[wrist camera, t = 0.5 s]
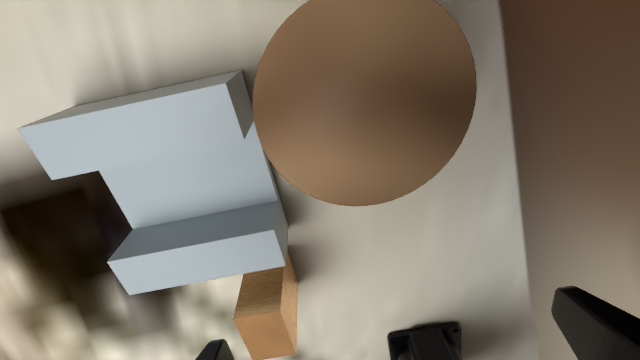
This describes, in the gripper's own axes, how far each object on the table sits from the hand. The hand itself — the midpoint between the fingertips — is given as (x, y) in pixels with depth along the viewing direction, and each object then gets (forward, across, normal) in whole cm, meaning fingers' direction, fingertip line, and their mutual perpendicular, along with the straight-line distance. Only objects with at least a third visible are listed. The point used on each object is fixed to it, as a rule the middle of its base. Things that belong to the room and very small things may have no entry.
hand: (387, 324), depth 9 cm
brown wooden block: (+13, +6, +9) cm, 17 cm away
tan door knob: (+13, -1, -5) cm, 14 cm away
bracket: (+13, +10, 0) cm, 16 cm away
